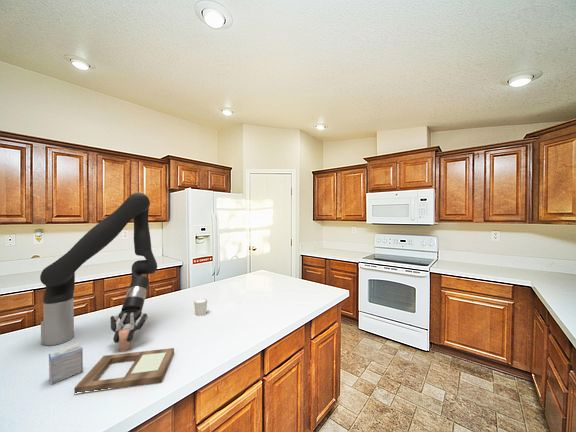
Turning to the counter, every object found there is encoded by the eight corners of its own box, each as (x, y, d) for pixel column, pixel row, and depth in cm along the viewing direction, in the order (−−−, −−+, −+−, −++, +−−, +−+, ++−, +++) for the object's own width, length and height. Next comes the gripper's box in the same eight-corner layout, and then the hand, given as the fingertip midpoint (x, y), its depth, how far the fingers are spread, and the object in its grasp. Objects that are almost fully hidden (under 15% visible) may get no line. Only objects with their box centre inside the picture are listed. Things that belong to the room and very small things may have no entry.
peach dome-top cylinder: (117, 352, 92) (116, 333, 92) (121, 346, 96) (121, 328, 96) (127, 351, 93) (127, 332, 93) (132, 345, 97) (131, 327, 96)
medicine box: (80, 366, 84) (80, 342, 83) (83, 372, 81) (82, 347, 80) (48, 379, 77) (48, 353, 77) (50, 385, 75) (50, 358, 74)
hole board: (74, 394, 71) (74, 386, 71) (103, 361, 87) (103, 354, 87) (161, 382, 76) (161, 375, 76) (174, 353, 92) (174, 347, 92)
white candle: (193, 317, 123) (193, 303, 123) (194, 311, 129) (194, 298, 129) (206, 315, 125) (206, 302, 125) (207, 310, 131) (207, 297, 131)
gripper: (113, 296, 100) (97, 340, 88) (150, 294, 103) (139, 336, 91) (119, 304, 105) (105, 346, 93) (154, 301, 108) (144, 342, 96)
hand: (122, 341), depth 92 cm, fingers closed on peach dome-top cylinder, 3 cm apart
